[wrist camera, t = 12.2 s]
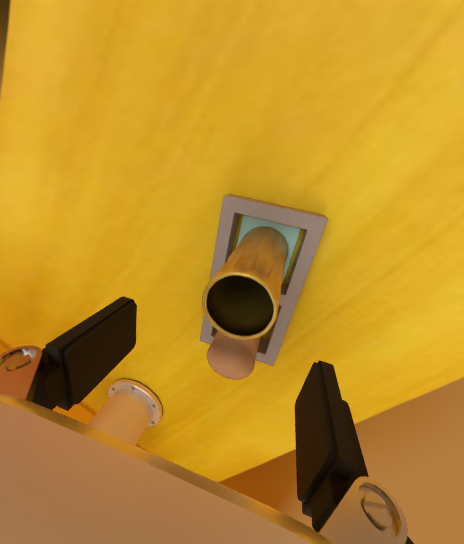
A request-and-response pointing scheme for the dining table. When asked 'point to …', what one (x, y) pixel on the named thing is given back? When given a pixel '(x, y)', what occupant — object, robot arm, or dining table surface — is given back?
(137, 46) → the dining table surface
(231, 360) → the walnut peg
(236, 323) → the vase
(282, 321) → the slot rack
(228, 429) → the dining table surface
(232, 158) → the dining table surface
